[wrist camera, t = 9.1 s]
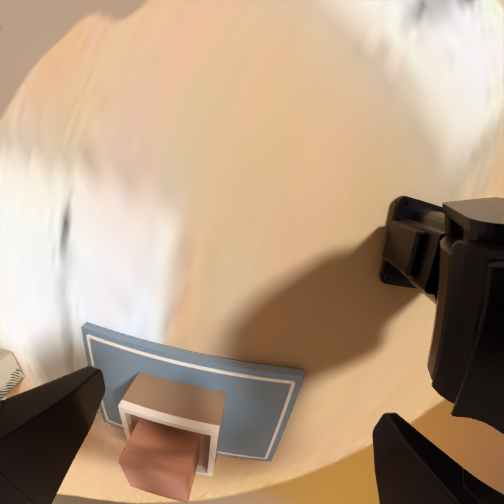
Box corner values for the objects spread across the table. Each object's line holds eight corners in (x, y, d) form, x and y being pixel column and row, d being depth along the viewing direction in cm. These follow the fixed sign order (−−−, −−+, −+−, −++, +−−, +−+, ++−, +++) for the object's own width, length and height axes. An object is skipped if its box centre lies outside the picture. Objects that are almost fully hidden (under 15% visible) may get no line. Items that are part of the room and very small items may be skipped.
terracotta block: (199, 432, 18) (186, 481, 13) (198, 460, 19) (187, 502, 15) (140, 416, 18) (118, 460, 13) (146, 447, 20) (130, 485, 15)
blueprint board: (303, 369, 22) (309, 419, 16) (270, 454, 25) (269, 494, 20) (86, 322, 22) (51, 353, 16) (107, 416, 26) (87, 447, 20)
